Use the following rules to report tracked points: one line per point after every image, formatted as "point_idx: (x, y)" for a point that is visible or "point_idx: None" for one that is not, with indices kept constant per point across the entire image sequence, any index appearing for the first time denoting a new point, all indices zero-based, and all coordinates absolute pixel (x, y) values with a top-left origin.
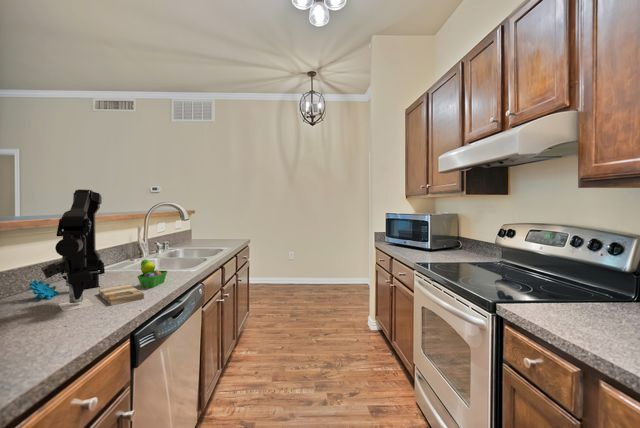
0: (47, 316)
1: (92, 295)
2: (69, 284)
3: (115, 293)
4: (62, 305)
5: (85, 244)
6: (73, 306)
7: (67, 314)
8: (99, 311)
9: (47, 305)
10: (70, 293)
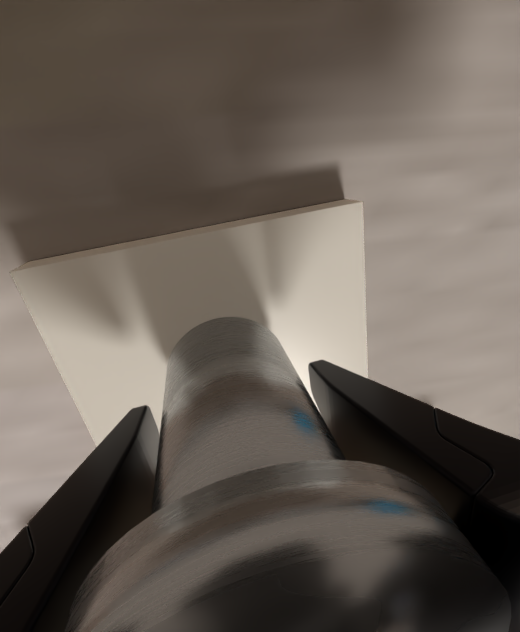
0: (44, 115)
1: (513, 393)
2: (79, 627)
3: None
4: (269, 243)
5: None
6: (161, 343)
7: None
8: (14, 498)
9: (496, 91)
10: (182, 409)
